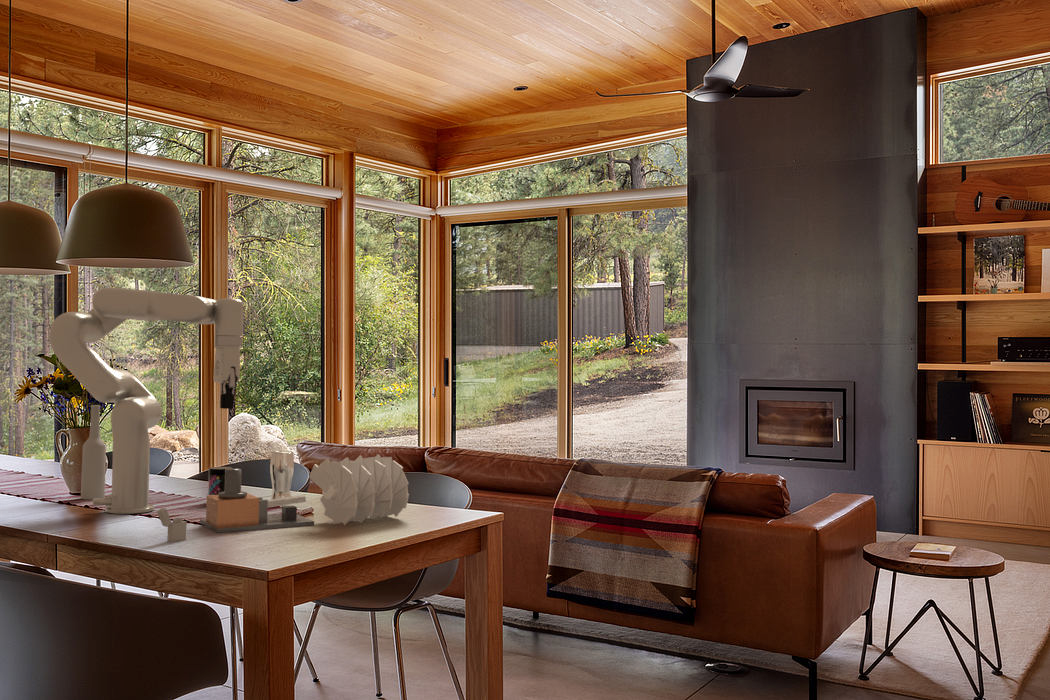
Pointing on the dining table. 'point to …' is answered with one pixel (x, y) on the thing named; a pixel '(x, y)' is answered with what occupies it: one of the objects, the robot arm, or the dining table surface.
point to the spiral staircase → (361, 488)
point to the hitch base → (262, 525)
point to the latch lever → (286, 501)
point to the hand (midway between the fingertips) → (226, 408)
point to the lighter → (173, 526)
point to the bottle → (93, 460)
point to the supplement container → (216, 480)
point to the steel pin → (232, 485)
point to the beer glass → (281, 473)
